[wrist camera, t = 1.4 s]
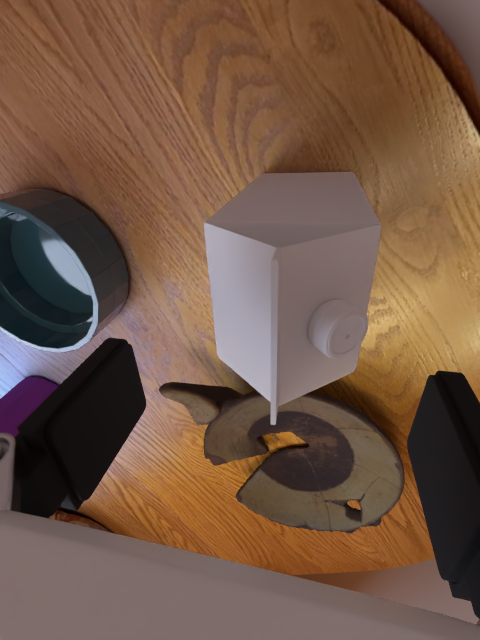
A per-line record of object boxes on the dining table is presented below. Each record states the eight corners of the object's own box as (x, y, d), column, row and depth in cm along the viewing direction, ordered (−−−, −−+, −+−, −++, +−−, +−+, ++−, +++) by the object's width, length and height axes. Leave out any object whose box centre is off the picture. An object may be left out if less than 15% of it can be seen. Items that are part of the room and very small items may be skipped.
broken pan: (261, 500, 50) (252, 555, 44) (157, 352, 39) (124, 397, 32) (418, 490, 41) (435, 558, 35) (343, 293, 30) (348, 340, 23)
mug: (50, 369, 45) (-55, 464, 33) (112, 443, 51) (44, 547, 39) (9, 380, 49) (-100, 470, 36) (71, 448, 55) (-2, 544, 43)
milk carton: (262, 257, 30) (191, 413, 14) (261, 172, 26) (162, 255, 10) (343, 260, 28) (365, 438, 12) (354, 170, 24) (406, 264, 9)
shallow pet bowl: (-24, 187, 33) (-87, 200, 28) (110, 186, 29) (67, 200, 24) (33, 317, 40) (-9, 345, 36) (143, 327, 37) (116, 359, 32)
